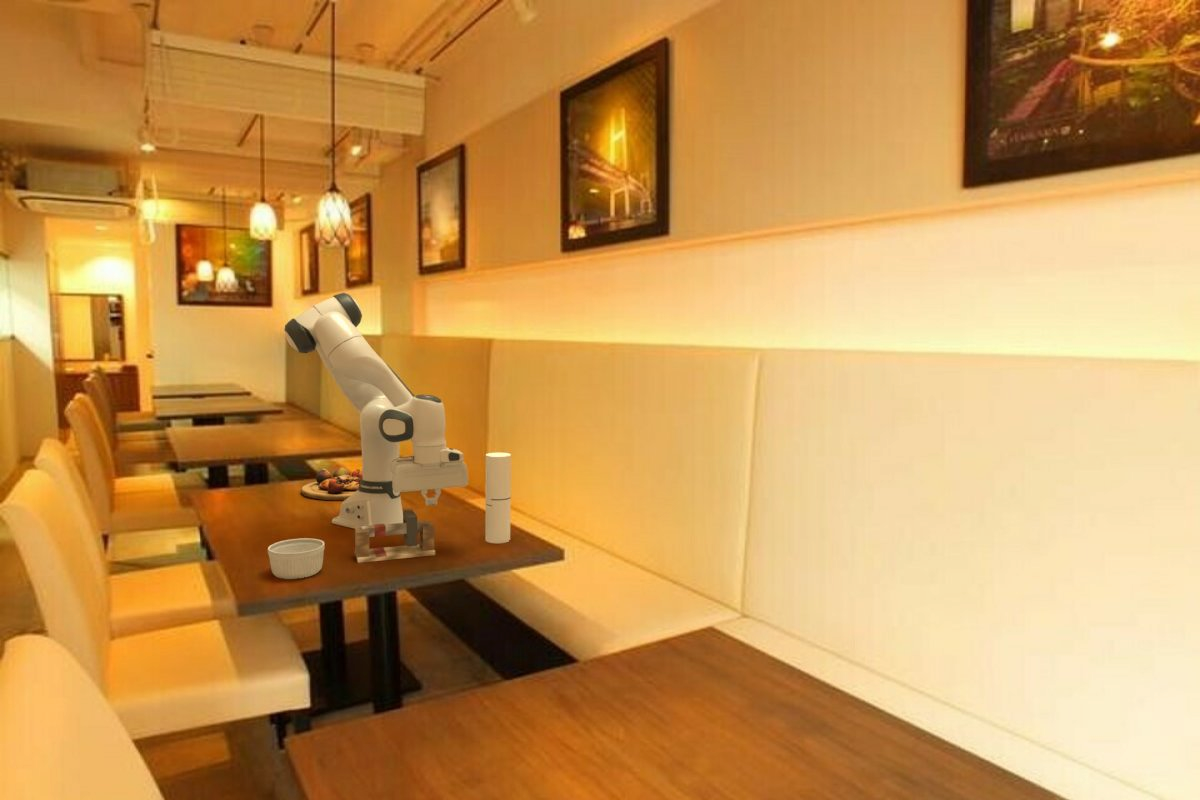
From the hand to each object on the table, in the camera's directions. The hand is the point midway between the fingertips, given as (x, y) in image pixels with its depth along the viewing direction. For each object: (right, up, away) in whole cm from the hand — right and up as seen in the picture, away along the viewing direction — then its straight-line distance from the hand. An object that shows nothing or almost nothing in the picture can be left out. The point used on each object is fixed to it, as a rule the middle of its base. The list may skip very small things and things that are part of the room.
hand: (431, 505), depth 208 cm
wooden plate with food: (-46, -5, +72) cm, 85 cm away
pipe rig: (-9, -13, -2) cm, 16 cm away
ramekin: (-30, -15, -18) cm, 37 cm away
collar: (-6, -10, -1) cm, 11 cm away
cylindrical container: (+16, -12, +13) cm, 24 cm away
